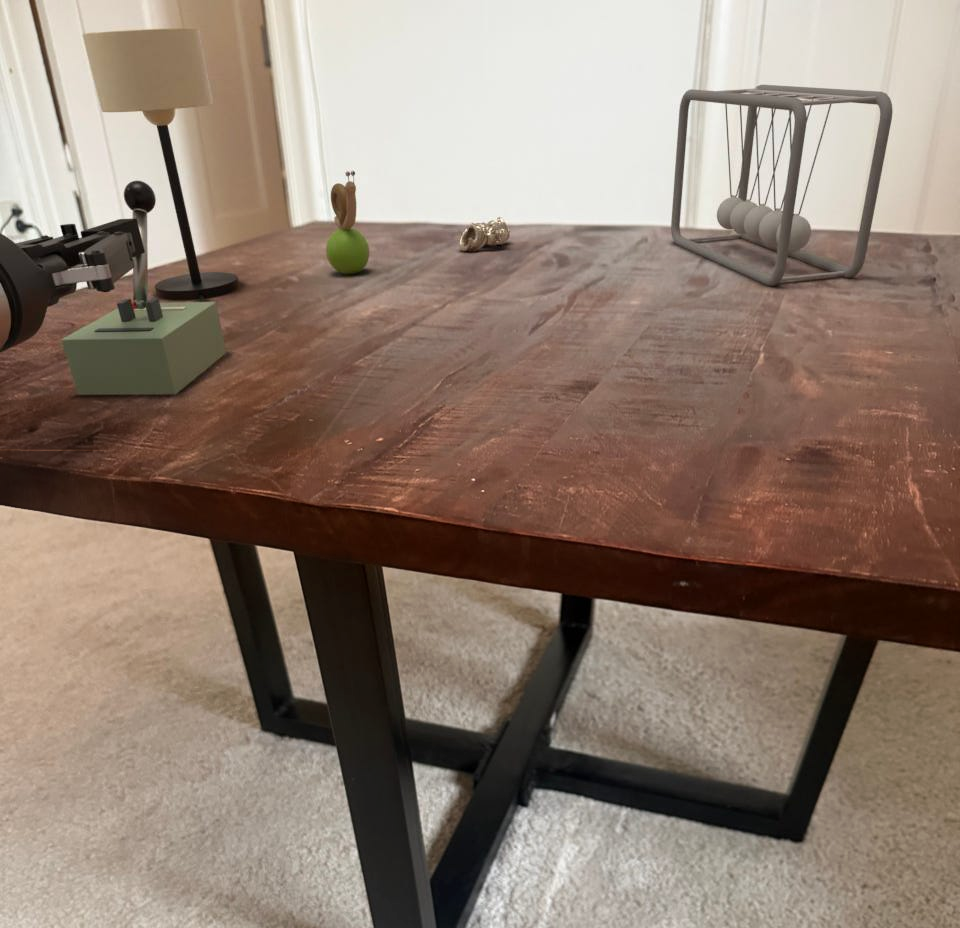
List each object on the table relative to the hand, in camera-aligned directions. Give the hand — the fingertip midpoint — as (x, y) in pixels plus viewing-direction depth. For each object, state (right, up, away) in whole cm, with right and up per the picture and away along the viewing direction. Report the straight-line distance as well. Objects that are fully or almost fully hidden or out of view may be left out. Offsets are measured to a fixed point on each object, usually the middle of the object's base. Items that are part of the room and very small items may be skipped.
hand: (132, 236), depth 75 cm
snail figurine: (+14, +12, +37) cm, 41 cm away
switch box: (0, -10, +5) cm, 12 cm away
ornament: (+31, +20, +46) cm, 59 cm away
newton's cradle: (+64, +12, +33) cm, 73 cm away
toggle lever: (0, -6, +2) cm, 6 cm away
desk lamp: (-3, +6, +30) cm, 31 cm away
